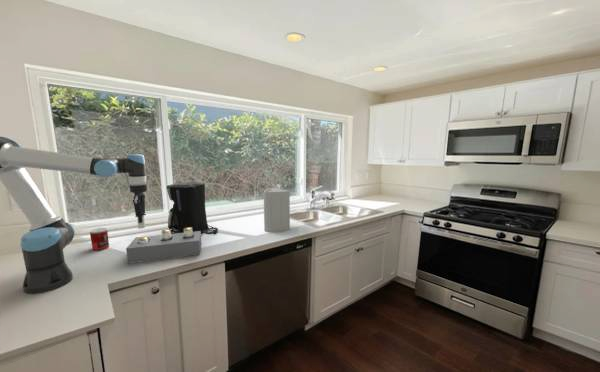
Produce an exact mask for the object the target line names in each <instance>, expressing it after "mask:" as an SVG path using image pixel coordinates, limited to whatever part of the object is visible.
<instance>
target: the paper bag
mask: <svg viewBox="0 0 600 372" xmlns="http://www.w3.org/2000/svg"><path fill="white" fill-rule="evenodd" d="M290 196H291V195H290V190H289V189H283V188H282V189H281V188H275V187H267V188H265V189H264V191H263V219H264V220H263V223H264V225H263V227H264V229H263V231H264V232H266V233H274V232H275V233H277V232H287V231H289V230H290V229H291V217H290V215H291V214H290V213H291V210H290V209H291V207H290V200H291V197H290Z"/></svg>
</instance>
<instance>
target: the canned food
mask: <svg viewBox="0 0 600 372" xmlns="http://www.w3.org/2000/svg"><path fill="white" fill-rule="evenodd" d="M108 232H109V231H108V229H107V228H106V227H99V228H94V229H92V230H90V231H89V235H90V241H91V249H92V250H93V251H94V252H97V251H98V252H99V251H104V250H107V249H108V248H109V247H110V241H109V233H108Z"/></svg>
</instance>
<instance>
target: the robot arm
mask: <svg viewBox="0 0 600 372" xmlns="http://www.w3.org/2000/svg"><path fill="white" fill-rule="evenodd" d="M26 168H30V169H38V170H46V171H57V172H66V173H74V174H75V173H76V174H83V175H84V174H85V175H93V176H98V177H102V178H111V177H113V176H114V175H116V174H128V184H129V193H132V194H133V193H134V195H133V199H132V203H133V206H134V207H133V208H134V213H135V218H137V227H138V228H137V229H139V230H140V229H141V230H142V229H145V228H146V224H145V216H146V201H145V200H146V196H145V194H144V193H146V192H148V187H147V186H148V185H147V180H148V177H147V174H146V172H147V171H146V161H145V156H144V154H142V153H141V154H140V153H139V154H138V153H134V154H133V153H132V154H131V153H129V154H126V157H124V158H121V157H120V158H118V157H104V158H99V157H90V156H84V155H75V154H70V153H63V152H57V151H56V152H55V151H50V150H49V151H48V150H40V149H36V148H35V149H33V148H28V147H22V145H20V143H18V142H17V141H16V140H13V139H11V138H8V137H4V136H0V183H1V184H2V185H3V186H4V188H5V189H6V191H7V192H8V194H9V196H11V198H12V199H13V201H14V202H15V203H16V205H17V207H19V209H20V210H21V212H22V213H23V215H24V216H25V218H26V219H27V221H28V222H29V224H30V225H31V226H30V227H29V229H28V230H29V231H28V232H26V233H24V234H23V235H22V236H21V238H20V249H21V252H22V256H23V257H22V258H23V262H24V265H25V274H24V275H25V276H24V280H23V283H22V291H23V292H24V293H25V294H32V295H33V294H40V293H44V292H49V291H53V290H55V289H57V288H61V287H63V286H65V285H66V284H68V283H70V282H71V281H72V280H73V278H74V276H73V272H72V270H71V269H70V267H69V266H68V264H67V263H66V260H65V255H64V249H65V248H66V247H67V246H68V245H70V244H71V242H72V241H73V240H74V238H75V235H76V234H75V233H76V231H75V229H74V226H73V225H71V224H70V223H69V222H66V221H65V219H64V218H63V216H60V215H56V214H55V212H54V211H53V209H52V207H51V206H50V205H49V203H48V201H47V199H46V198H45V197H44V195H43V194H42V192H41V191H40V189H39V187H38V185H36V183H35V181H34V180H33V178H32V177H31V176H30V174H29V172H28V170H27V169H26Z"/></svg>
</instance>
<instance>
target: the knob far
mask: <svg viewBox="0 0 600 372" xmlns="http://www.w3.org/2000/svg"><path fill="white" fill-rule="evenodd" d="M186 238H193V232H192V227H186V228H184V239H186Z"/></svg>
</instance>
